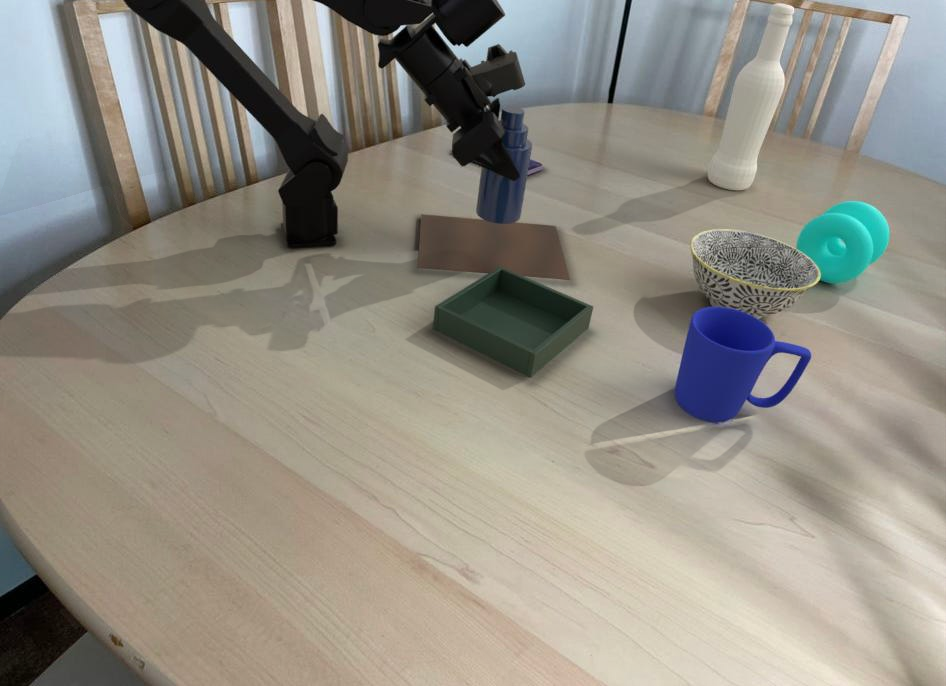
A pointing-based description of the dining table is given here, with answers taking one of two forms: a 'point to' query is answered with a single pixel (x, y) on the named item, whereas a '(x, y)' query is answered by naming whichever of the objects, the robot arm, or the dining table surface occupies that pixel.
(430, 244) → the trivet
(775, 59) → the bottle
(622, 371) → the dining table surface
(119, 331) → the dining table surface
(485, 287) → the tray
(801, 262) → the bowl
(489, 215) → the blue bottle
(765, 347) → the mug
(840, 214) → the turquoise yo-yo
